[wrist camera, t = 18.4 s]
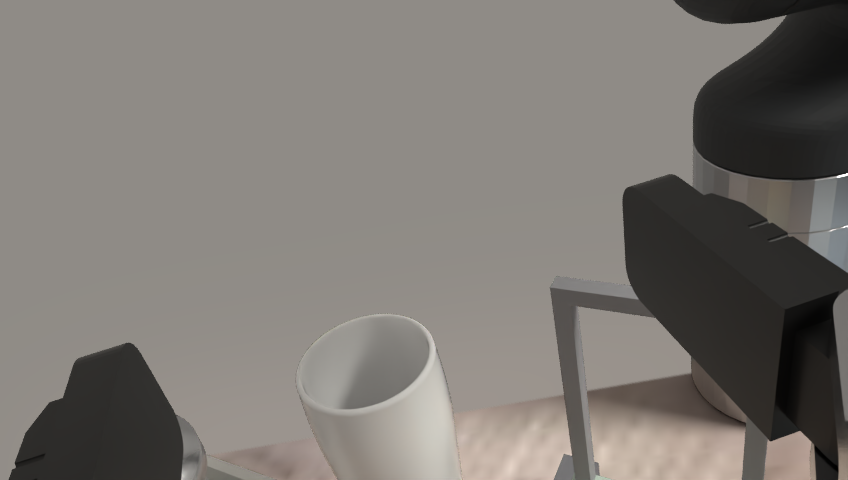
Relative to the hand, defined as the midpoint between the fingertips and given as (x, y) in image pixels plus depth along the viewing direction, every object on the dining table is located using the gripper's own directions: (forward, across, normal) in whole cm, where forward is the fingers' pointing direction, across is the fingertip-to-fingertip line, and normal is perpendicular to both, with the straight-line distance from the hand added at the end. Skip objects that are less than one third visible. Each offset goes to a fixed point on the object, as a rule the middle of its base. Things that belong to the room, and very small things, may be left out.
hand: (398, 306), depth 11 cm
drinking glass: (+15, +1, +29) cm, 33 cm away
